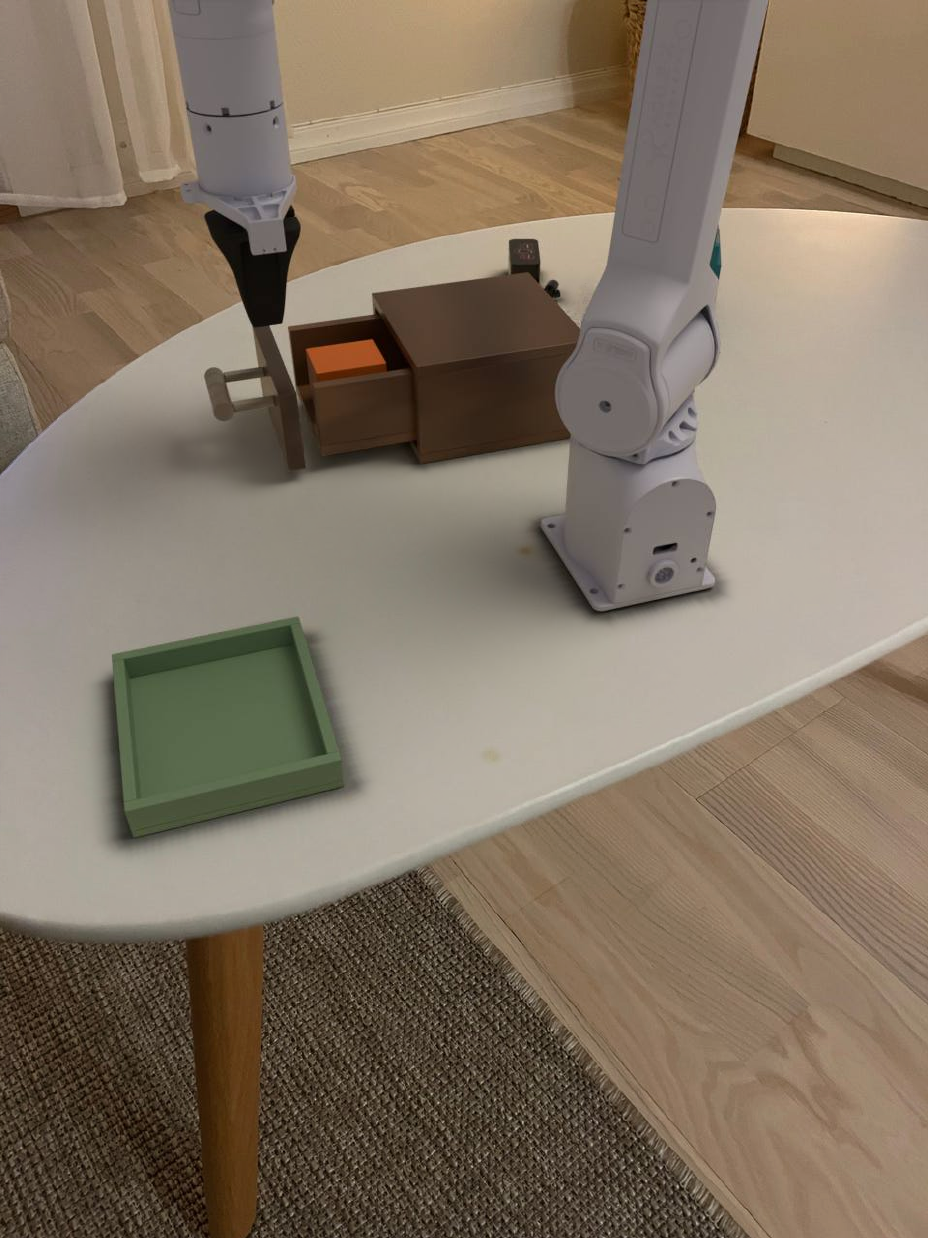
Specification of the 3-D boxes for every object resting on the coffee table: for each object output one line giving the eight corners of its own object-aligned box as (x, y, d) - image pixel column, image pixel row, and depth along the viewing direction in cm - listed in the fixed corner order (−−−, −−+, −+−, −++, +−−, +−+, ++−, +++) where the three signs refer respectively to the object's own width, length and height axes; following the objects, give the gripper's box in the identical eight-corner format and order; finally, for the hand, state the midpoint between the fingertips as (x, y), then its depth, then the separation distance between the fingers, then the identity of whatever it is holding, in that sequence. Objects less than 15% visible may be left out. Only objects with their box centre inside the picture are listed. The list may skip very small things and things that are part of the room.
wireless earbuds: (509, 302, 93) (510, 268, 91) (507, 271, 99) (508, 238, 96) (560, 302, 93) (562, 267, 91) (555, 271, 98) (557, 238, 96)
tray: (345, 786, 50) (341, 759, 49) (133, 838, 48) (124, 811, 47) (302, 641, 58) (298, 615, 57) (119, 680, 56) (111, 653, 55)
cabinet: (420, 464, 72) (416, 366, 68) (377, 383, 82) (371, 292, 77) (583, 435, 75) (591, 339, 70) (524, 361, 84) (528, 271, 79)
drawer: (228, 481, 69) (213, 405, 65) (207, 403, 78) (194, 332, 74) (447, 444, 73) (446, 370, 69) (406, 372, 81) (402, 303, 77)
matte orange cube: (389, 413, 74) (386, 362, 71) (322, 424, 73) (316, 373, 70) (376, 388, 77) (372, 338, 74) (311, 398, 76) (305, 348, 73)
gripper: (155, 80, 64) (194, 288, 73) (179, 145, 54) (221, 378, 63) (266, 71, 66) (291, 275, 75) (310, 132, 55) (333, 361, 64)
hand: (266, 321), depth 69 cm, fingers closed
